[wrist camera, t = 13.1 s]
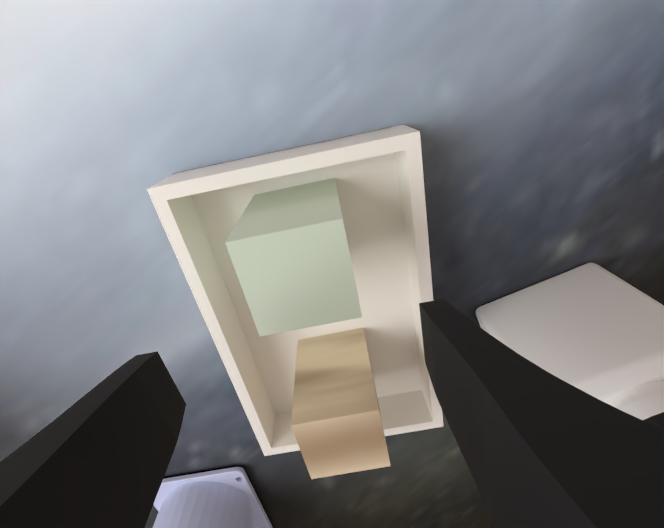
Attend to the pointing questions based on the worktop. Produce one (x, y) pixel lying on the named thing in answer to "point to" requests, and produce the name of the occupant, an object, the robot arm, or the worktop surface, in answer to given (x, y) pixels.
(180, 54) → the worktop surface
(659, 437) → the robot arm
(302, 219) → the sage block
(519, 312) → the medicine bottle
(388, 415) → the serving tray
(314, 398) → the maple block
